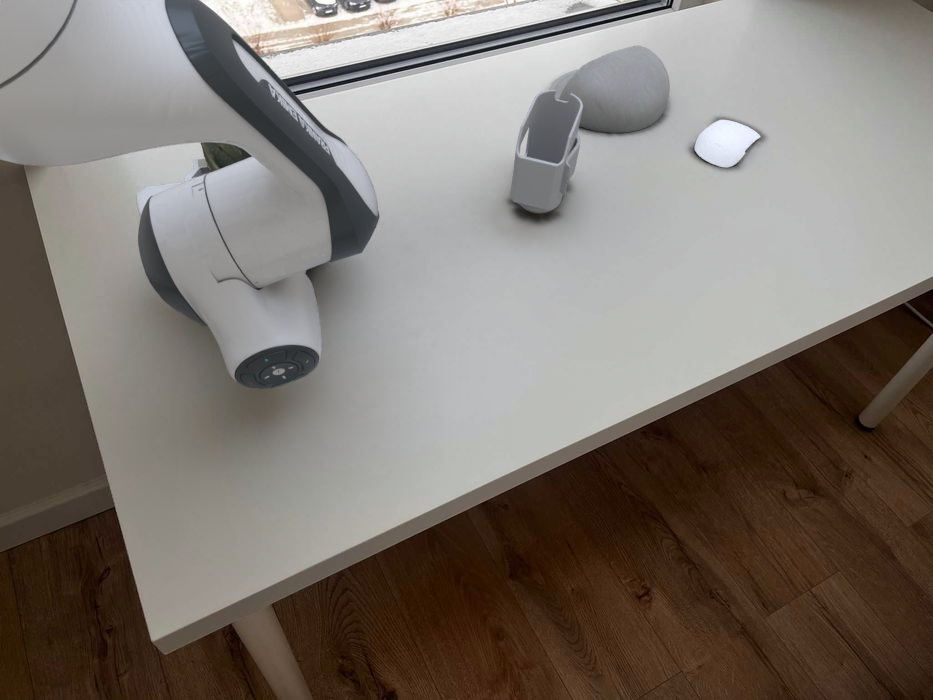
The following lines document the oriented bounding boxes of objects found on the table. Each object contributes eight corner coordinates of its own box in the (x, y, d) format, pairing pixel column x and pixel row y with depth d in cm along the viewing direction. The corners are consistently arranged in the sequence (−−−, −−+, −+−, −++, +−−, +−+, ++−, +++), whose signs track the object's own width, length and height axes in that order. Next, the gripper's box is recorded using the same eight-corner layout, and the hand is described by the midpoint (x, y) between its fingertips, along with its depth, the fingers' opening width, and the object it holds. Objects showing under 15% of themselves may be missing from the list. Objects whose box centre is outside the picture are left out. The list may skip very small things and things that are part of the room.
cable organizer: (504, 221, 88) (514, 137, 78) (529, 164, 95) (541, 81, 86) (556, 234, 87) (573, 151, 77) (577, 176, 94) (595, 93, 85)
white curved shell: (764, 134, 103) (770, 120, 101) (731, 173, 97) (737, 158, 95) (721, 116, 105) (726, 102, 104) (686, 153, 99) (691, 139, 97)
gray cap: (609, 101, 93) (530, 46, 101) (598, 148, 99) (524, 92, 106) (706, 63, 101) (625, 14, 109) (690, 109, 106) (614, 59, 114)
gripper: (359, 202, 68) (331, 121, 76) (132, 237, 63) (128, 147, 71) (363, 250, 73) (336, 169, 81) (152, 287, 68) (147, 197, 76)
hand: (237, 159), depth 76 cm, fingers closed on figurine, 6 cm apart
